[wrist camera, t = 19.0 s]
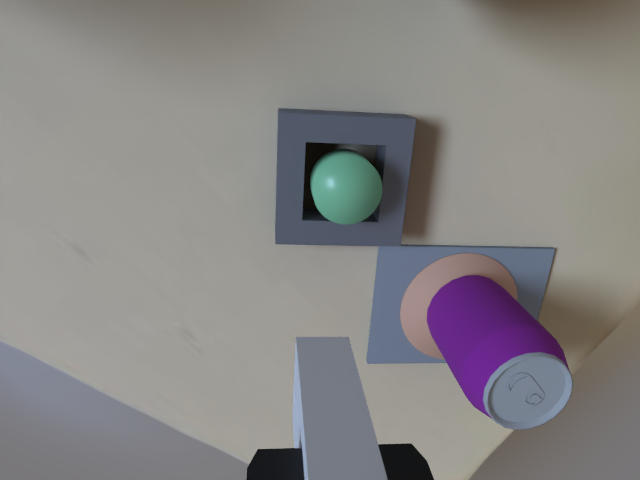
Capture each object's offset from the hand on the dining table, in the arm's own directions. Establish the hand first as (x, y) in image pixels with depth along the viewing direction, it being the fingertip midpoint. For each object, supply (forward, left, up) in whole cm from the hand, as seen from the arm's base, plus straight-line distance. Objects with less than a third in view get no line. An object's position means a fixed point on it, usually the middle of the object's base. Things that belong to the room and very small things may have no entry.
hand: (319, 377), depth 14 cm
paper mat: (+16, -12, -26) cm, 33 cm away
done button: (+4, 0, -24) cm, 25 cm away
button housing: (+4, 0, -26) cm, 27 cm away
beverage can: (+16, -12, -26) cm, 33 cm away
